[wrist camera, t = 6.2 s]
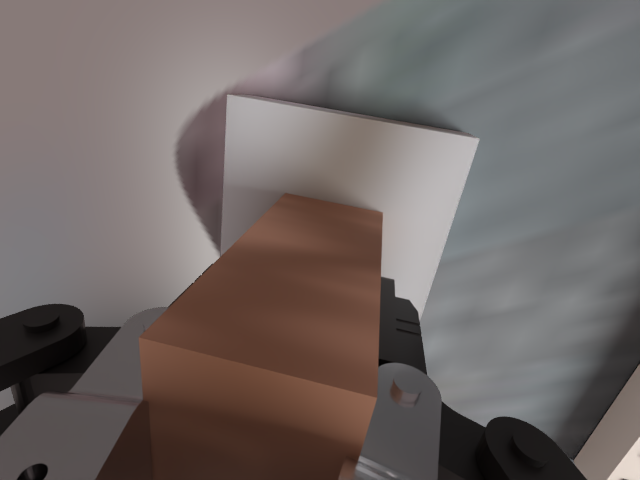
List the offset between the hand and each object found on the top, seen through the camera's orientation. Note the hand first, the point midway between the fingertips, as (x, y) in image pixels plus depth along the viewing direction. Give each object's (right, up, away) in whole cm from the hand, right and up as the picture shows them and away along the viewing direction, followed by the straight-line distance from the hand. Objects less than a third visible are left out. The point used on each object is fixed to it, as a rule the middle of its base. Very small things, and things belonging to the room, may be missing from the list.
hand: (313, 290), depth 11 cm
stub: (0, +1, +2) cm, 3 cm away
